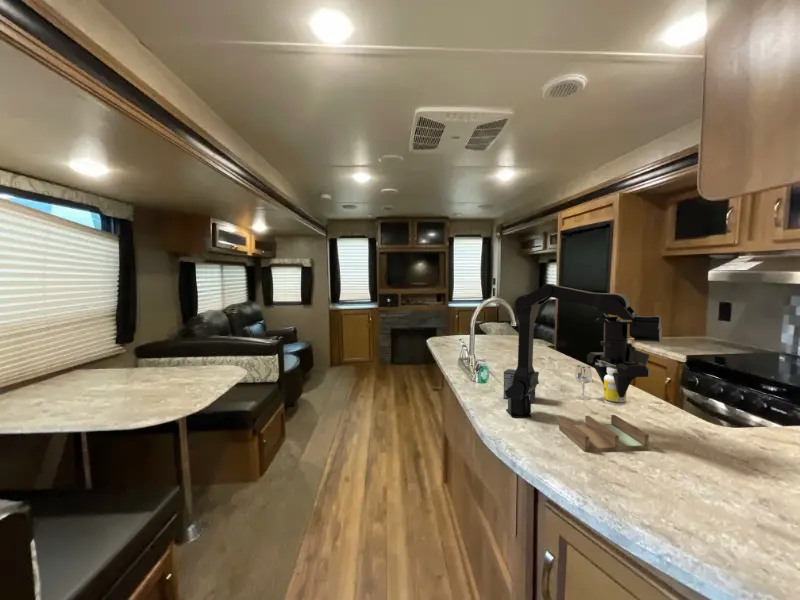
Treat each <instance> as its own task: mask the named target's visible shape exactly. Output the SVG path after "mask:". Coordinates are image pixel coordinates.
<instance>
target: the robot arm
mask: <svg viewBox="0 0 800 600" xmlns="http://www.w3.org/2000/svg"><path fill="white" fill-rule="evenodd" d="M551 298H554V299H557V300H558V299H559V300H563V301H567V302H571V303H576V304H581V305H585V306H589V307H591V308H594V309H595V310H597V311H599V312H603V313H601V315H600V316H599V317H598V318H596V319H595V322H596V323H603V341H602V340H601V341H599V342H600V343H599V344H600V346H603V352H602V351H601V352H599V351H598V352H597V351H596V352H594V351H593V352H592V351H591V352H589V353H588V354H587V355H586V362H587V363H590V364H592V367H593V368H594V369H595V371H596V373H597V375H598V376H599V379H600V380H601V382H602V384H603V386H604V376H605V375H608V373H607V367H616V368H617V372H618V373H613V377H614V381H615V384H616V388H617V392H618V395H619V397H620V398H623V397H624V396H625V394H626V395H627V392H628V389H629V387H630V384H631V383H632V381H633V380H634V379H636V378H645V377H646V378H648V377H649V376H650V368H648V366H647V364H648V361H649V358H650V354H648V353H645V352H642V351H639V350H636V347H635V346H633V344H632V343H629V342H628V341H629V336H630V337H631V338H634V341H638V342H648V343H649V342H650V343H651V342H652V343H660V344H661V342H662V337H663V336H662V335H663V327H662V321H661V316H660V315H653V316H645V315H644V316H642V315H639V314H637V312H636V311H635V310H634V309H633V308H632V306H631V302H630V299H629V298H628V297H627V295H625V294H623V293H615V292H614V293H610V292H607V293H606V292H605V293H604V292H592V291H588V290H582V289H577V288H571V287H566V286H561V285H557V284H554V283H546V284H544V285H542V286H541V287H539V288H538V289H536V290H534V291H532V292H530V293H528V294H527V295H523V296H519V297H517V298H516V299H515V301H514V304H513V305H514V306H513V307H514V311H515V317H516V319H517V321H518V345H517V346H518V347H517V348H518V351H517V367H516V369H515V370H516V371H515V373H514V377H513V381H512V386H511V387H509V388H508V389H507V390H506V391H505V394H506V397H507V398H508V400H507V408H505V411H506V412H507V413H508V414H509V416H510V417H511V418H532V414H531V413H532V403H531V401H530V400H529V399H530V397H529V396H528V395H529V394H531V391H532V390H534V389H535V390H536V388H537V385H538V384H540V381H539V374H540V372H539V371H536V370H535V369H534V367H533V366H534V364H533V359H534V358H533V357H534V335H535V334H534V332H535V322H536V319H537V317H538V314H539V311H540V306H541V305H543V304H544V303H546V302H548V300H551ZM608 315H610V316H608Z"/></svg>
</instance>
